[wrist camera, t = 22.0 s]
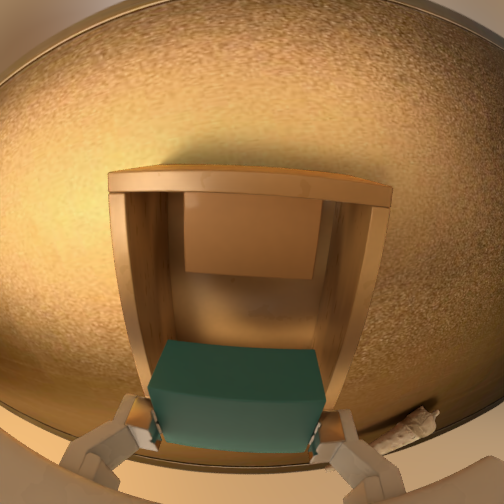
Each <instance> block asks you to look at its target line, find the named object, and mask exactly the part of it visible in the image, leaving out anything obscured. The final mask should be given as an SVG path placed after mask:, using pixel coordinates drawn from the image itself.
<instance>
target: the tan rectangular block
mask: <svg viewBox="0 0 504 504" xmlns="http://www.w3.org/2000/svg"><path fill="white" fill-rule="evenodd" d="M322 207H323V200H316V199H305V198H293V197H280V196H265V195H248V194H227V193H198V192H184V257H185V271H186V272H192V273H205V274H219V275H234V276H250V277H266V278H284V279H304V280H312V279H313V275H314V268H315V261H316V254H317V247H318V240H319V232H320V224H321V216H322Z"/></svg>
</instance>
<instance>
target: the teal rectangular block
mask: <svg viewBox="0 0 504 504" xmlns="http://www.w3.org/2000/svg"><path fill="white" fill-rule="evenodd" d="M147 389H148V393H149V396H150V399H151V402H152V405H153V408H154V411H155V413H156V416H157V419H158V422H159V425H160V427H161V430H162V432H163V435H164V438H165V440H166V442H169V443H175V444H180V445H186V446H192V447H199V448H206V449H215V450H224V451H236V452H254V453H297V452H304V451H305V449H306V447H307V445H308V443H309V441H310V439H311V436H312V434H313V432H314V430H315V427H316V425H317V423H318V420H319V418H320V416H321V413H322V411H323V408H324V406H325V403H326V401H327V400H326V396H325V391H324V387H323V382H322V378H321V374H320V369H319V365H318V361H317V356H316V352H315V350H314V349H272V348H251V347H236V346H223V345H212V344H202V343H193V342H185V341H177V340H167V343H166V345H165V347H164V349H163V351H162V354H161V356H160V358H159V361H158V363H157V365H156V367H155V370H154V372H153V374H152V377H151V379H150V381H149V384H148V386H147Z"/></svg>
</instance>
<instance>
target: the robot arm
mask: <svg viewBox="0 0 504 504" xmlns="http://www.w3.org/2000/svg"><path fill="white" fill-rule="evenodd" d="M161 433H163V432H162V430H161V427H160V425H159V422H158V419H157V416H156V413H155V411H154V408H153V405H152V402H151V399H149V398H145V397H141V396H137V395H133V394H129V393H127V394H126V395H125V396H124V398H123V400H122V402H121V404H120V406H119V408H118V410H117V412H116V414H115V416H114V419H113V421H107V422H106V423H104V424H102V425H101V426H99V427H97V428H96V429H94V430H92V431H90V432H89V433H87V434H85V435H83V436H81V437H80V438H78V439H76V440H74V441H72V442H70V444H69V446H68V447H67V449H66V452H65V454H64V455H63V457H62V460H61V461H60V464H59V465H58V464H56V463H54V462H52V461H50V460H49V459H47V458H45V457H43V456H42V455H40V454H38V453H37V452H35V451H33V450H32V449H30V448H29V447H27V446H26V445H24V444H22V443H21V442H20V441H18V440H17V439H15V438H14V437H12V436H11V435H10V434H8V433H7V432H6V431H4V430H3V429H1V428H0V504H160V503H156V502H152V501H149V500H145V499H142V498H138V497H135V496H132V495H129V494H125V493H123V492H120V491H118V487H119V484H120V480H119V478H118V477H117V476H116V475H115V474H114V473H113V472H112V470H113V469H115V468H116V467H117V466H118V465H120V464H121V463H122V462H123V461H125V460H126V459H127V458H128V457H130V456H131V455H132V454H133V453H135V452H136V451H137V450H138V449H139V448H143V449H148V450H152V451H157V452H158V450H159V447H160V444H161V441H162V439H161V436H160V434H161ZM309 444H310V448H309V450H308V454H309V462H310V463H323V462H330V464H331V465H332V466H333V467H334V469H335V470H336V471H337V472H338V473H339V474H340V475H341V476H342V477H343V479H344V480H345V481H346V482H347V483H348V484H349V485H350V486H351V487H352V488H353V490H352V491H351V492H350V493H348V494H347V495H346V496H345V497H344V498H343V502H344V504H504V461H502V460H500V459H498V458H496V457H493V456H486V457H484V458H482V459H480V460H479V461H477V462H475V463H473V464H472V465H470V466H468V467H466V468H464V469H462V470H460V471H458V472H456V473H454V474H452V475H450V476H448V477H445V478H443V479H441V480H439V481H436V482H434V483H432V484H429V485H427V486H424V487H422V488H419V489H416V490H413V491H411V492H408V493H406V491H405V488H404V484H403V481H402V477H401V474H400V471H399V469H398V468H397V467H396V466H395V465H393V464H392V463H391V462H389V461H388V460H387V459H386V458H384V457H383V456H382V455H381V454H379V453H378V452H377V451H376V450H374V449H373V448H372V447H371V446H369V445H368V444H367V443H366V442H365V441H363V440H359V438H358V435H357V431H356V428H355V424H354V421H353V417H352V414H351V411H350V410H349V409H345V410H331V411H322V413H321V416H320V418H319V420H318V423H317V425H316V427H315V430H314V432H313V434H312V436H311V439H310V441H309Z"/></svg>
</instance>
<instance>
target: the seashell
mask: <svg viewBox="0 0 504 504" xmlns="http://www.w3.org/2000/svg"><path fill="white" fill-rule="evenodd" d="M438 414H439V410H435V411H433V412H432V413H429V412H427V411H426V410H425V409H424V407H423V406H421V407H420V408H418V409H416V410H415V411H413V412H412V413H411V414H409V415H407V417H406V418H405V419H404V420H403V421H401V422H398V423H397V425H396V426H395V427H394V428H392V429H391V430H390V431H388V432H387V433H385V434H383V435H381V436H380V437H379V438H378V439H376V440H374V441H373V442H371V443H370V444H368V445H369V446H371V447H372V448H373V449H374V450H376V451H377V452H378V453H379V454H381V455H383V454H386V453H387V452H390V451H393V450H395V449H397V448H399V447H402V446H405V445H406V444H409V443H412V442H414V441H415V440H418V439H420V438H422V437H425V436H427V435H429V434H431V433H433V432H434V430H435V428H436V423H435V418H436V416H437V415H438ZM324 469H325V470H326V472H331V471H335V469H334V467H333V466H332V465H331V464H330V465H328V466H326V467H325V468H324Z"/></svg>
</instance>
